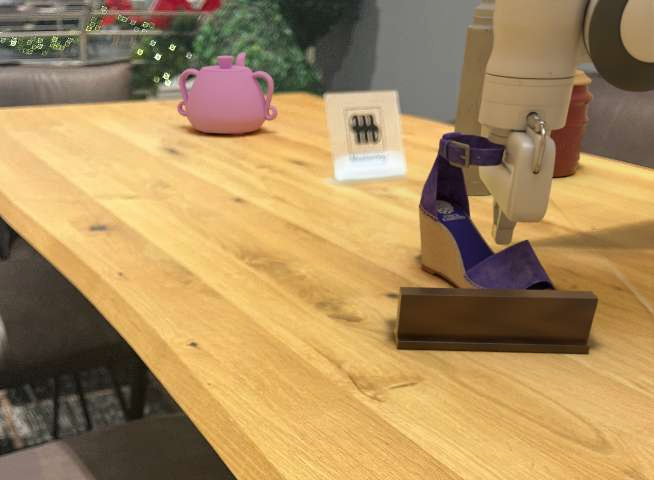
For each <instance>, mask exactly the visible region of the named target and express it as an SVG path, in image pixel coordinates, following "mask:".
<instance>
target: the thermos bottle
mask: <svg viewBox="0 0 654 480" xmlns="http://www.w3.org/2000/svg"><path fill="white" fill-rule="evenodd" d="M495 1H496V0H481V3H480V4H479V5H477V6H476V7H474V13H473V15H472V17H473V22H472V23H471V24H469V25H468V26H467V29H466V37H465V45H464V55H463V61H462V62H463V63H462V69H461V76H460V82H459V83H460V84H459V90H458V98H457V107H456V115H455V122H454V130H453V132H460V133H461V134H471V135H478V136H481V126H482V124H480V123H479V121H478V119H479V112H480V111H479V102H480V95H481V92H482V91H483V84H484V77H485V70H486V66H487V63H488V61H489V58H490V55H491V52H492V48H493V40H494V35H493V14H494V7H495ZM478 158H479V157H478ZM462 170H463V174H464V179H465V184H466V189H467V194H468V196H489V195H491V193H490V192H489V190H488V189H487V187H486V186H485V184H484V183H483V181H482V180H481V178H480V175H479V166H475V165H469V168H467V169H464V168H462Z"/></svg>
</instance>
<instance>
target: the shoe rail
mask: <svg viewBox="0 0 654 480" xmlns="http://www.w3.org/2000/svg"><path fill="white" fill-rule="evenodd" d="M398 290H399V291H398V299H397V300H398V301H397V310H396V321H395V325H394V327H393V328H394V329H393V333H394V339H395V344H396V349H398V350H434V351H435V350H436V351H437V350H439V351H473V352H475V351H476V352H512V353H514V352H516V353H550V354H555V353H557V354H589V353H590V350H591V344H590V343H589V338H590V334H591V330H592V326H593V322H594V319H595V314H596V311H597V307H598V302H599V297H598V296H597V295H596V293H595V292H594V291H592V290H557V289H556V290H516V289H472V288H458V287H426V286H425V287H424V286H421V287H419V286H399V289H398Z"/></svg>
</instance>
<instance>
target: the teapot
mask: <svg viewBox="0 0 654 480" xmlns="http://www.w3.org/2000/svg"><path fill="white" fill-rule="evenodd" d="M246 57H247V53H246V52H245V51H242V52H239V54H237V56H236V60H235V57H234V56H233V55H218V56H216V60H217V63H218V65H207V66H203V67H201V68H200V69H199V70H198V69H196V68H187V69H185V70H184V71H183V72H182V73H181V74H180V75H179V79H178V85H179V86H178V87H179V91H180V95H181V97H182V100H181V101H179V102H178V104H177V107H176V109H177V113H178V114H179V115H180V116H182V117H186V119H187V120H188V122H189V124H191V126H192V127H193V128H194V129H195V130H197V131H199V132H202V133H203V134H231V135H232V136H233V135H234V136H242V135H244V133H250V132H255V131H258V130H259V129H261V127H262V126H263V124H264V123H265V122H266V121H269V122H270V121H274V120H276V118H277V117H278V109H277V106H275V105H271V104H272V99H273V95H274V90H275V84H274V80H273V78H272V76H271V74H269V73H268V72H266V71H264V70H263V71H262V70H257V71H254V72H253V70H252V69H251V68H250V67H248V66H246V65H245V62H246ZM234 60H235V62H234ZM233 63H235V64H234V65H233ZM189 75H192V76H196V77H195V79H194V80H193V83H192V84H191V88H190V89H189V92H188V90H187V85H186V79H187V77H188V76H189ZM257 78H263V79H265V81H266V82H267V93H266V96H265V93H264V91H263V89H262V87H261V84H260V83H259V81H258V79H257ZM183 106H184V109H185V110H184V109H183ZM270 110H271V111H272V114H270Z"/></svg>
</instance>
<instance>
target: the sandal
mask: <svg viewBox="0 0 654 480" xmlns="http://www.w3.org/2000/svg"><path fill="white" fill-rule="evenodd" d="M438 143H439V144H438V150H437V155H436V157H435V160H434V162H433V164H432V166H431V169H430V171H429V174H428V176H427V178H426V180H425V182H424V185H423V188H422V190H421V196H420V200H419V204H418V216H419V233H420V234H419V235H420V254H421V255H420V256H421V257H420V258H421V266H420V267H421V269H422V270H423V271H425V272H427V273H429V274H431V275H432V276H434V275H435V276H436V275H439V276H440V277H443V278H444V279H446V280H447V281H449V282H450V283H451V284H453V285H454V286H455V287H456V288H472V289H516V290H557V288H556V287H555V285H554V284H553V282H552V280H551V278H550V277H549V275H548V273H547V271H546V270H545V267H543V265H542V263H541V261H540V260H539V258H538V255H537V254H536V252H535V250H534V248H533V247H532V244H531V243H530V240H529V239H524V240H521V241H518V242H516V243H514V244H512V245H511V244H510V245H509V246H508V247H507V246H506V248H504V249H501V250H500V251H498V252H495V251H494V250H493V249H492V247H491V246H490V245H489V243H488V242H487V241H486V239H485V238H484V236H483V235H482V233H481V232H480V231H479V229H478V227H477V226H476V224H475V223H474V221H473V220H472V217H471V209H470V200H469V195H468V194H467V189H466V184H465V179H464V174H463V170H462V168H464V169H467V168H469V165H475V166H497V165H500V164H501V163H502V158H503V154H504V149H505V147H504V145H500V144H495V143H492V142H490V141H489V140H488V138H486V137H482V136H478V135H471V134H461V133H460V132H454V131H450V132H446V133H443V135H442V136H441V138H440V139H439V142H438ZM478 157H479V158H478Z"/></svg>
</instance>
